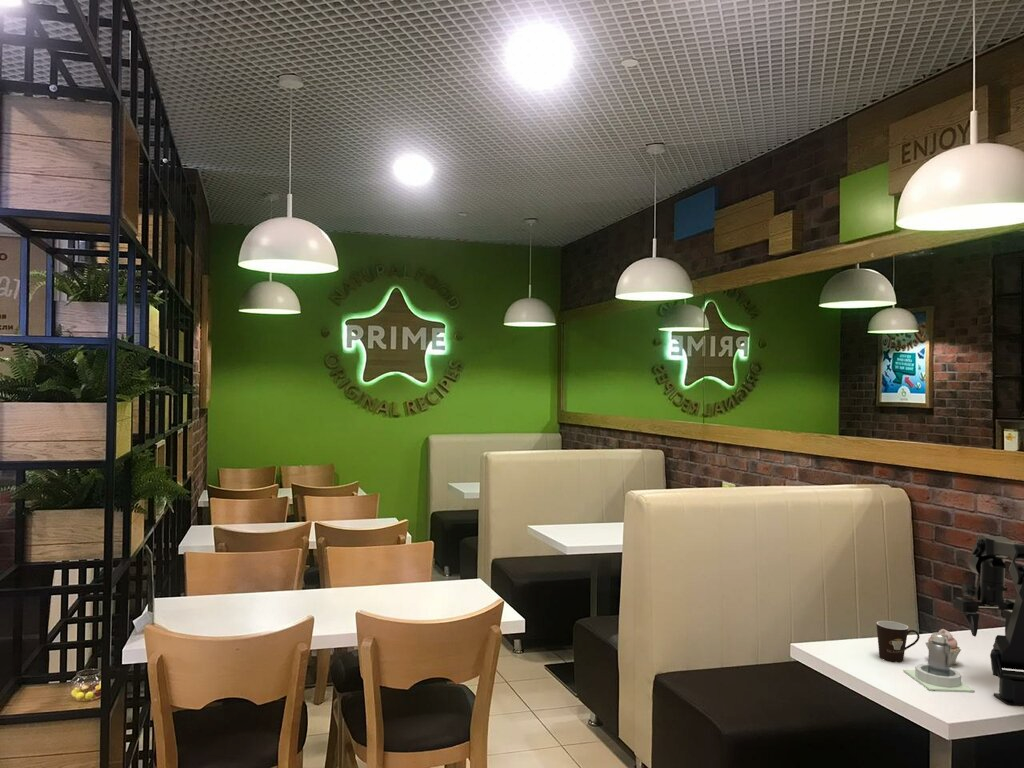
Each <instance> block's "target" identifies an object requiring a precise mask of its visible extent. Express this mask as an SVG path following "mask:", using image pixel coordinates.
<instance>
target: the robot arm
mask: <svg viewBox="0 0 1024 768" xmlns="http://www.w3.org/2000/svg"><path fill="white" fill-rule="evenodd" d="M1006 558H1010V559H1011V563H1010V564H1009V568H1008V572H1009V574H1010V576H1011V581H1012V584H1013V586H1014V588H1015V590H1016V597H1015V599H1008V598H1006V599H1005V592H1008V587H1007V586H1005V580H1006V579H1005V577H1006V572H1005V571H1006V569H1007V564H1006V563H1005V562H1004V561H1003V560H1005V559H1006ZM1016 560H1021V561H1024V543H1016V542H1012V541H1011V539H1009V538H1008V537H1005V536H995V535H980V536H979V538H978V539H977V540H976V542H975V543H974V546H973V547H972V550H971V556H969V559H968V560H967V565H968V567H969V569H970V570H971V571H973V572H974V573H976V574H977V575H980V580H979V581H977V583H976V586H972V584H971V583H963V584H961V594H962V596H965V597H958V596H957V597H956V596H955V598H954V599H953V601H952V607H953V608H955V609H957V610H958V611H959V612H961V613H962V614H963V615H964V617H965V619H966V621H967V623H968V626H969V629H970V632H971V635H972V637H977V634H978V628H979V621H980V620H979V619H980V613H978V611H979V610H1000V611H1003V613H1004V616H1005V620H1004V621H1005V622H1004V624H1005V625H1004V635H1002V634H1001V635H1000V634H998V635H996V636H995V639H994V640H995V641H994V643H993V645H992V647H993V648H992V649H991V651H990V654H989V657H990V663H991V666H990V667H991V670H992V675H993V676H994V677H998V678H999V682H998V683H999V684H998V686H999V687H998V691H999V692H995V693H993V696H995V697H996V698H997V699H999V700H1000V701H1002V702H1003V703H1005V704H1007V705H1008V704H1009V706H1024V565H1017V563H1016Z"/></svg>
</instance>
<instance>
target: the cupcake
mask: <svg viewBox="0 0 1024 768" xmlns="http://www.w3.org/2000/svg"><path fill="white" fill-rule="evenodd" d="M938 633H943V634H946V635H948V644H950V645H951V650H950V667H952V666H954V665H956V662H957V659H958V655H959V654H960V653H961V651H962V649H961V648H960V647H959V646H958V641H957V640H956V638H955V637H953V636H954V635H952V633H951V632H950V631H948V630H947V629H944V628H941V629H940V630H938ZM929 641H932V634H930V637H929V638H928V640H927V641H926V642H925V645H926V647H927V649H928V650H927V651H929Z"/></svg>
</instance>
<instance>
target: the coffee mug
mask: <svg viewBox="0 0 1024 768" xmlns="http://www.w3.org/2000/svg"><path fill="white" fill-rule="evenodd" d="M876 632H877V633H876V634H877V635H876V636H877V644H878V655H879V658H880V659H881V660H883V659H884V660H883V661H886V662H889V661H891V662H890V663H902V661H903V662H904V658H905V652H906V651H907V650H908V649H909V648H911V647H913V646H914V645H916V644H917V643H918V642H919V640H920V638H921V636H920V633H919V632H918V631H917V630H914V629H909V626H908V625H907V624H904V623H901V622H897V621H891V620H879V621H876ZM911 633H915V634H916V636H917V637H916V639H915V640H914V641H913V642H912V643H911V644H908V645H907V639H908V638H907V637H908V635H909V634H911ZM906 645H907V646H906Z"/></svg>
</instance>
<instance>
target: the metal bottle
mask: <svg viewBox="0 0 1024 768" xmlns="http://www.w3.org/2000/svg"><path fill="white" fill-rule="evenodd" d="M938 632H939V631H938ZM938 632H937V631H936V632H932V633H931V635H932V641H929V650H928V660H927V661H928V673H930V674H934V675H938V676H946V677H948V676H949V674H950V668H951V666H950V650H951V645H950V644H948V635H946V634H943V633H938Z"/></svg>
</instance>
